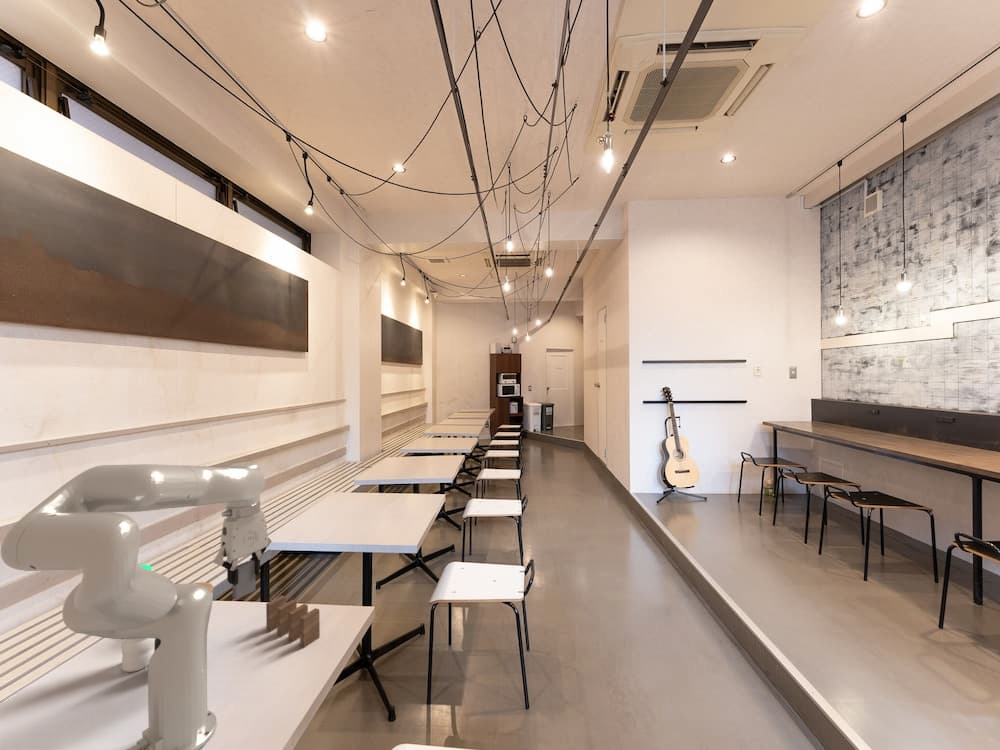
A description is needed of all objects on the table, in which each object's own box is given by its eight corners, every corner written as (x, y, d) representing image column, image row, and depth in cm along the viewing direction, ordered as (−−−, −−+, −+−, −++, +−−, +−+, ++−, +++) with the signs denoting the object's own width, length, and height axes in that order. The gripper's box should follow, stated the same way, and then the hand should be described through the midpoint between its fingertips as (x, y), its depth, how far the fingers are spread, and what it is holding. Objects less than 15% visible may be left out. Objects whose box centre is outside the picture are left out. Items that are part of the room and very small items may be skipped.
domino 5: (319, 637, 116) (319, 609, 116) (304, 648, 112) (303, 619, 112) (315, 635, 117) (315, 608, 117) (300, 646, 112) (299, 617, 112)
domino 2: (285, 622, 123) (285, 596, 123) (269, 632, 119) (269, 604, 118) (282, 621, 124) (282, 595, 124) (266, 630, 119) (266, 603, 119)
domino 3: (296, 627, 121) (296, 600, 121) (280, 637, 116) (280, 609, 116) (293, 626, 121) (293, 599, 121) (277, 635, 117) (277, 607, 117)
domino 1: (255, 590, 109) (255, 560, 109) (236, 599, 105) (236, 568, 105) (251, 588, 110) (251, 559, 110) (232, 598, 106) (232, 567, 106)
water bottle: (116, 667, 104) (115, 570, 104) (150, 651, 111) (149, 559, 111) (129, 677, 101) (128, 576, 101) (163, 659, 107) (162, 565, 107)
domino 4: (307, 632, 118) (307, 605, 118) (292, 642, 114) (291, 614, 114) (304, 630, 119) (304, 603, 119) (288, 640, 115) (288, 612, 115)
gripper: (217, 523, 98) (218, 598, 98) (282, 502, 113) (283, 567, 113) (200, 518, 101) (200, 590, 101) (265, 499, 117) (266, 562, 117)
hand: (244, 578), depth 107 cm, fingers closed on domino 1, 4 cm apart
